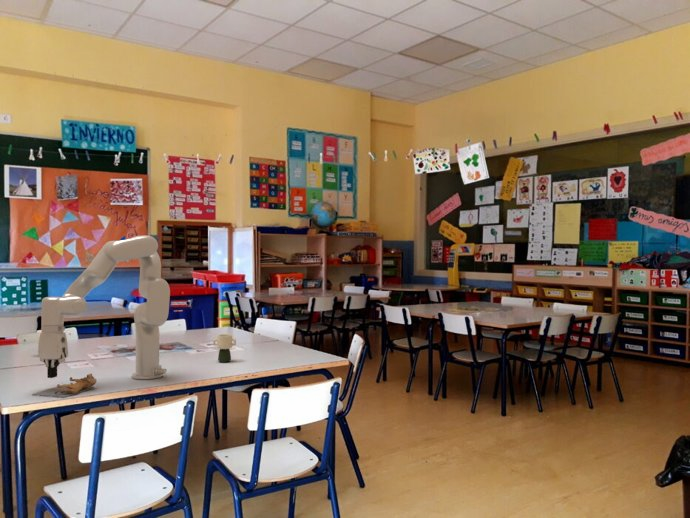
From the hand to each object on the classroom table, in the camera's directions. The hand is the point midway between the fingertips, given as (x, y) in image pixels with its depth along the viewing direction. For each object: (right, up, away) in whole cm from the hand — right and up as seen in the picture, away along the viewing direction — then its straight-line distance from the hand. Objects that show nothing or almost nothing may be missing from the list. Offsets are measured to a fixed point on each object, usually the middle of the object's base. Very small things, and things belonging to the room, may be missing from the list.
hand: (52, 377), depth 215 cm
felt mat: (+5, -5, -1) cm, 7 cm away
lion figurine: (+6, -2, -2) cm, 7 cm away
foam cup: (-39, -4, +70) cm, 80 cm away
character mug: (+53, -5, +58) cm, 79 cm away
